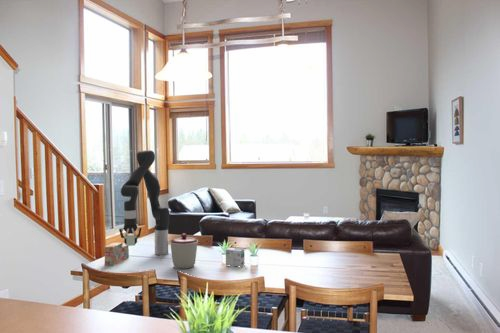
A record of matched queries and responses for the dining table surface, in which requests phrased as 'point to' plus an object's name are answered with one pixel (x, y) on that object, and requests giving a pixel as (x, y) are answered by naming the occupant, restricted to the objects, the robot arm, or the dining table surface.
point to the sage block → (130, 240)
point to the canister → (183, 251)
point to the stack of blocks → (116, 253)
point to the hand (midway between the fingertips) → (130, 243)
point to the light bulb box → (235, 257)
